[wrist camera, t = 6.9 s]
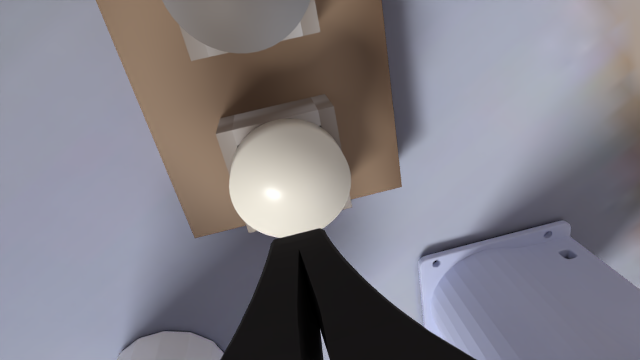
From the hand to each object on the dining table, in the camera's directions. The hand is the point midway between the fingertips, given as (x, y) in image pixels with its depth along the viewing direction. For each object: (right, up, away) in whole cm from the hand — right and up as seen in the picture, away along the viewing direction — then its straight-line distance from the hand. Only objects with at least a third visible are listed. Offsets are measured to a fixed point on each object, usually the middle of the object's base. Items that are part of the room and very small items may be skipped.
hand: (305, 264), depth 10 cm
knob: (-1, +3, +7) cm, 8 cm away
